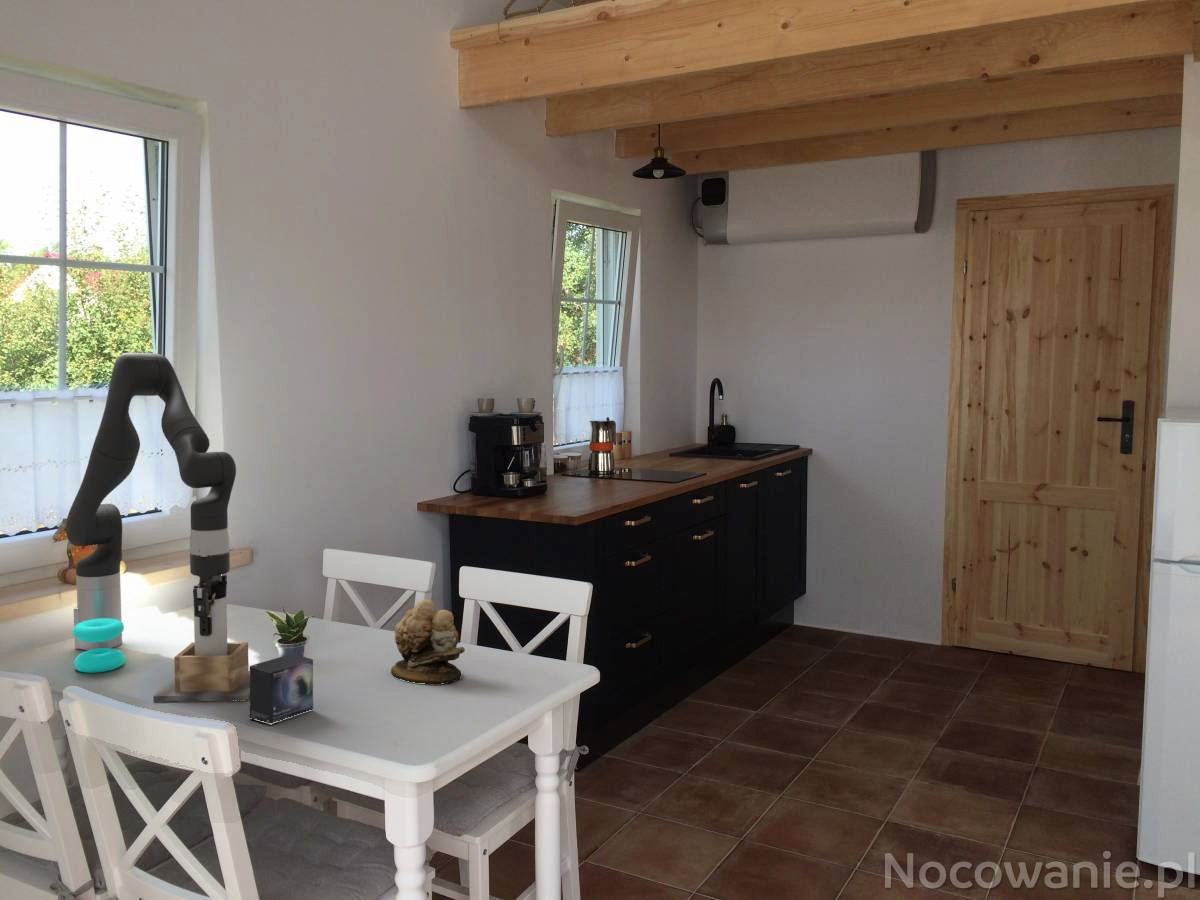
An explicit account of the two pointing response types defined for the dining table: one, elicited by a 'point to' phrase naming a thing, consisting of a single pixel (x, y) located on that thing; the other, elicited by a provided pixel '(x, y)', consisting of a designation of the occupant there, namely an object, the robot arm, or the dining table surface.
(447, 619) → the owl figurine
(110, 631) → the donuts
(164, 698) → the box
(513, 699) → the dining table surface
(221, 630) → the travel mug
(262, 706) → the small box
